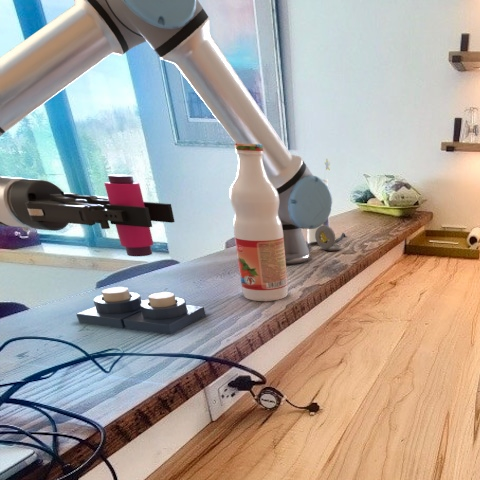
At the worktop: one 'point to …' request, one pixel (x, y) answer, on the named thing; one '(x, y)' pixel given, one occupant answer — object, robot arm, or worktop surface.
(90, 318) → the eye block
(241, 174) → the fruit juice
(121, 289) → the eye pad
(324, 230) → the pocket watch
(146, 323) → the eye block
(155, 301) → the eye pad
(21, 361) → the worktop surface
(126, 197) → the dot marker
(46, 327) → the worktop surface
